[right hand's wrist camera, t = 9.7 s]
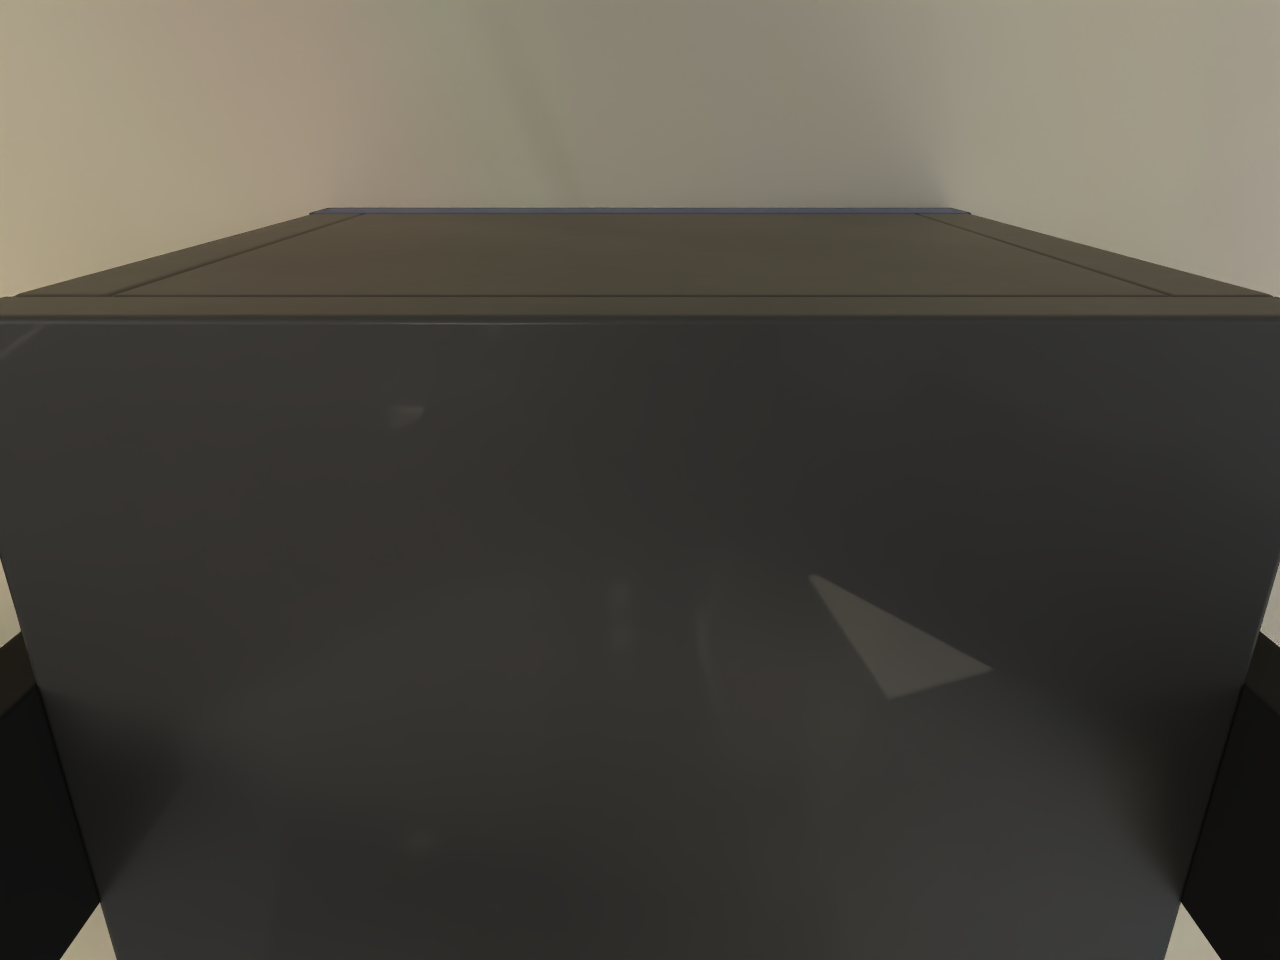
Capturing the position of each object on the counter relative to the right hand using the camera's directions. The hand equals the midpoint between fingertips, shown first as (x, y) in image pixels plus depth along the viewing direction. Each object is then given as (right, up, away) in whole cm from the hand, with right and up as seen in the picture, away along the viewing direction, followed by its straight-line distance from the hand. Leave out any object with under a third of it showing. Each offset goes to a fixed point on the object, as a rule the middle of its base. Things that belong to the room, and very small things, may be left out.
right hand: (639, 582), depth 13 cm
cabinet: (0, -2, +6) cm, 7 cm away
